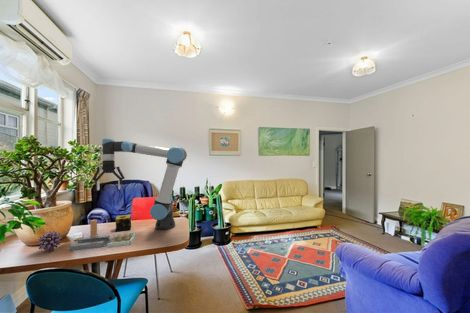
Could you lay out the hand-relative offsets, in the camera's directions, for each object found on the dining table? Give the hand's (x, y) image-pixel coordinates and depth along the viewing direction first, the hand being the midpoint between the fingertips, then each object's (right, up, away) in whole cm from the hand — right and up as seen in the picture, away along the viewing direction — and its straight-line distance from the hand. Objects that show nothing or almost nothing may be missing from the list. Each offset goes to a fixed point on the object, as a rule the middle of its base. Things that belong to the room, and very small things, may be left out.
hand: (108, 189), depth 151 cm
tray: (+17, -32, -14) cm, 39 cm away
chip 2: (+19, -32, -14) cm, 40 cm away
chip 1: (+15, -32, -15) cm, 38 cm away
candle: (+5, -33, +11) cm, 35 cm away
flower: (-21, -33, -25) cm, 46 cm away
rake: (-5, -33, -8) cm, 34 cm away
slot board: (+2, -33, -19) cm, 38 cm away
